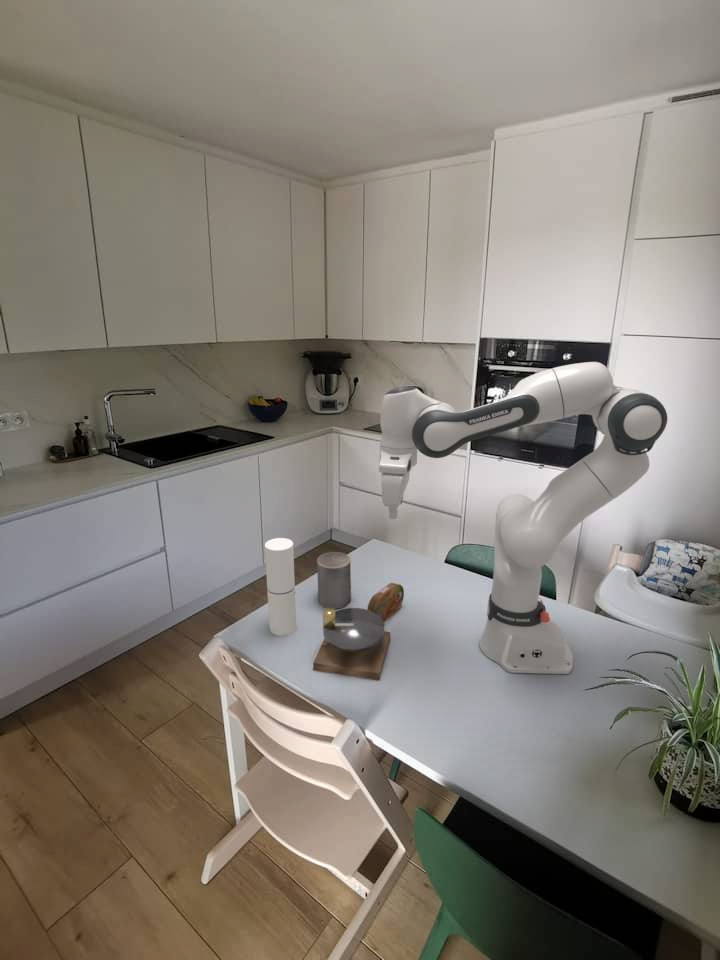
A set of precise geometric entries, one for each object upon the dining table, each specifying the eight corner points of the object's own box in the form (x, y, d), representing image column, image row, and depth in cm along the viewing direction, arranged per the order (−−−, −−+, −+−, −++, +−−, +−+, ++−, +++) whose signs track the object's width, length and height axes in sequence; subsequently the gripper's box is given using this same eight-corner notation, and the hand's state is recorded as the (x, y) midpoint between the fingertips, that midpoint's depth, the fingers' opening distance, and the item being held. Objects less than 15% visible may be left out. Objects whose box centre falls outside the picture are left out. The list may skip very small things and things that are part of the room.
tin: (374, 630, 134) (374, 603, 131) (364, 626, 135) (365, 599, 133) (404, 605, 145) (405, 580, 142) (395, 602, 147) (396, 577, 144)
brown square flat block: (390, 638, 130) (390, 619, 128) (379, 680, 116) (379, 659, 114) (331, 629, 134) (331, 610, 132) (313, 669, 119) (312, 648, 117)
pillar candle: (332, 588, 154) (331, 544, 149) (357, 598, 148) (357, 553, 143) (311, 602, 146) (309, 557, 141) (337, 614, 141) (336, 567, 136)
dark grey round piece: (382, 614, 130) (382, 594, 128) (386, 651, 116) (386, 629, 114) (324, 614, 130) (324, 594, 128) (321, 652, 115) (321, 630, 113)
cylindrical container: (264, 631, 133) (259, 547, 124) (278, 617, 139) (274, 536, 131) (287, 638, 130) (284, 552, 122) (301, 623, 136) (298, 540, 128)
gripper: (391, 444, 128) (390, 494, 132) (377, 467, 109) (376, 525, 113) (416, 446, 126) (413, 496, 131) (406, 469, 107) (403, 528, 112)
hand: (396, 510), depth 122 cm, fingers open, 8 cm apart
